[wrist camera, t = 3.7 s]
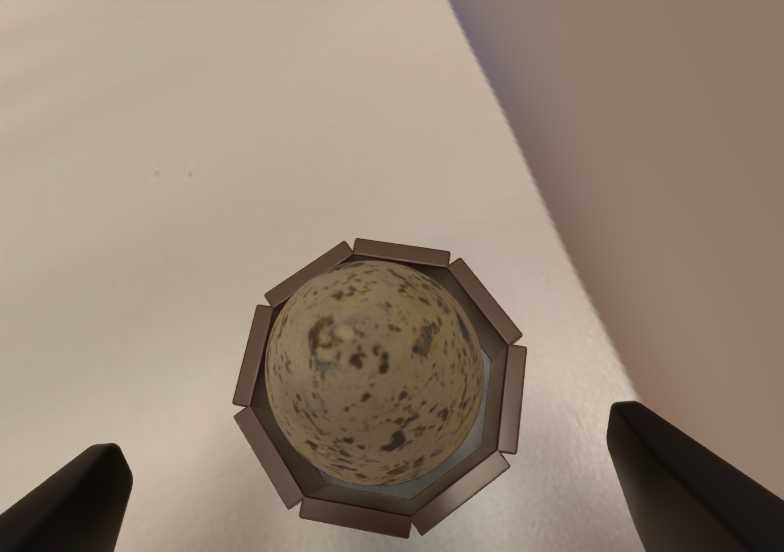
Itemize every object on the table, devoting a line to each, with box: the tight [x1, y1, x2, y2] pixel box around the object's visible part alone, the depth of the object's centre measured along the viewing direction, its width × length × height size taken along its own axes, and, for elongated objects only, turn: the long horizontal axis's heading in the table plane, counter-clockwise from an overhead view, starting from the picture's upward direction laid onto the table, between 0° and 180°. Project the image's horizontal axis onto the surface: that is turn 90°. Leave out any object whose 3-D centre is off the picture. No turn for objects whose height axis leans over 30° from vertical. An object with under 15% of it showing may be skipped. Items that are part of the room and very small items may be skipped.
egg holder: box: [232, 238, 527, 539], centre depth 17 cm, size 8×8×4 cm
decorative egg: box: [265, 261, 484, 486], centre depth 14 cm, size 6×6×10 cm
